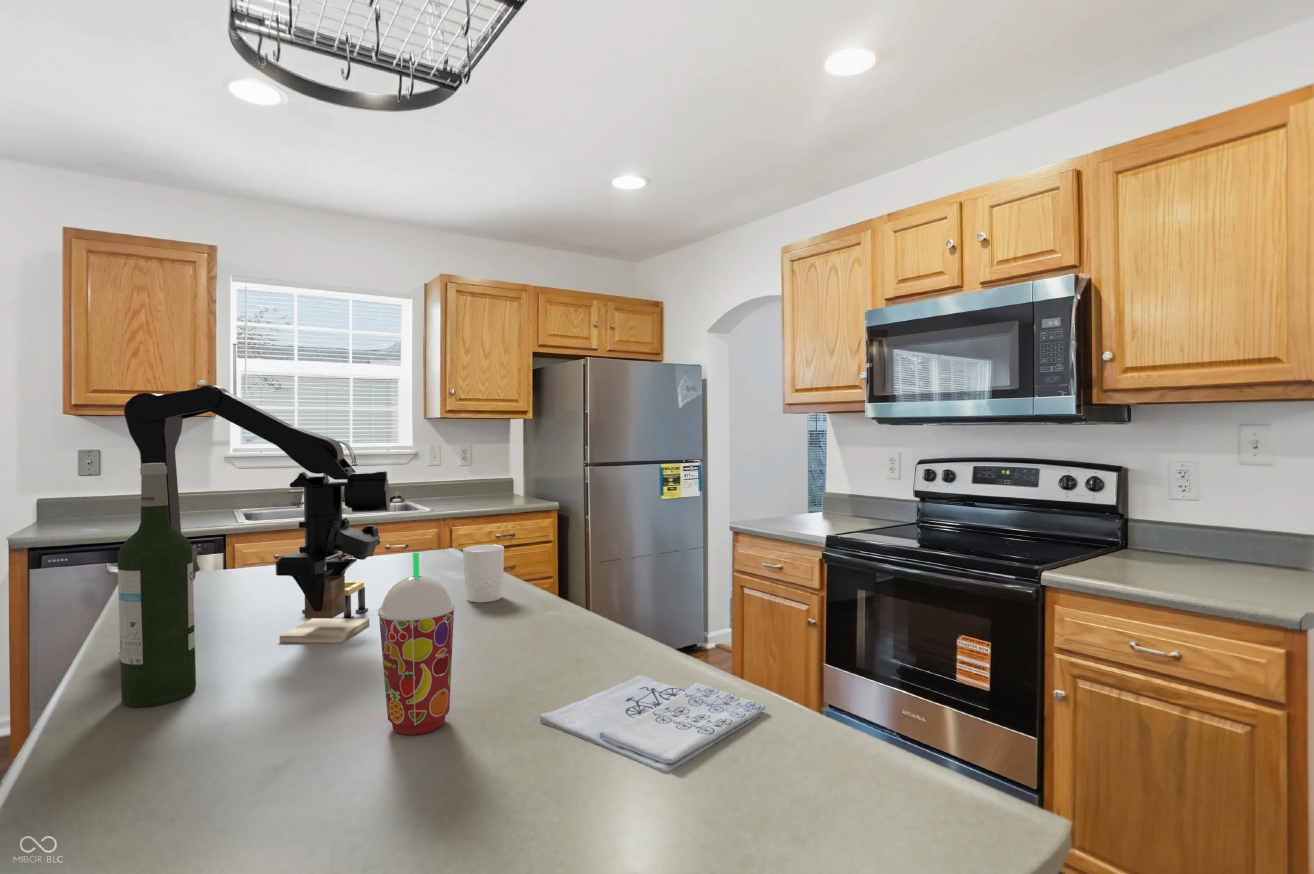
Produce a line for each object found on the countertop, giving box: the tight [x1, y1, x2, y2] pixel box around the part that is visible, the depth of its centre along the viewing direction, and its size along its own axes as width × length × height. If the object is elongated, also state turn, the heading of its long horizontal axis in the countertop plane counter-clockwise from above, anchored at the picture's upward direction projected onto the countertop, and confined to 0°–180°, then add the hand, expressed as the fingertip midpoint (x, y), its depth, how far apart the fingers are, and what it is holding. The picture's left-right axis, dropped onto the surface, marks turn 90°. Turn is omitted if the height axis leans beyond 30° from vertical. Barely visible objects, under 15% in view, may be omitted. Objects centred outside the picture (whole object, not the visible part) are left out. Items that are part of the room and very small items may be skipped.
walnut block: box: [304, 575, 346, 619], centre depth 119 cm, size 4×4×6 cm
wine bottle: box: [116, 463, 197, 708], centre depth 92 cm, size 8×8×30 cm
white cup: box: [462, 544, 505, 603], centre depth 141 cm, size 8×8×10 cm
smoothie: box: [377, 551, 456, 736], centre depth 82 cm, size 8×8×20 cm
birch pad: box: [279, 618, 370, 644], centre depth 119 cm, size 10×10×1 cm
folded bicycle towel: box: [538, 675, 767, 774], centre depth 85 cm, size 19×20×2 cm
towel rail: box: [301, 580, 369, 619], centre depth 129 cm, size 7×12×6 cm, turn 88°
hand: (325, 607), depth 119 cm, fingers closed on walnut block, 4 cm apart
